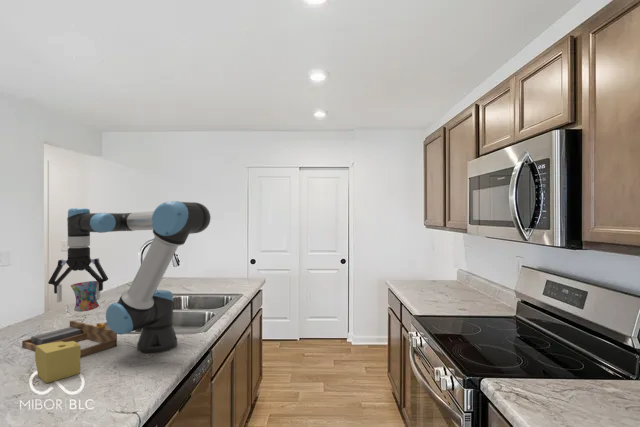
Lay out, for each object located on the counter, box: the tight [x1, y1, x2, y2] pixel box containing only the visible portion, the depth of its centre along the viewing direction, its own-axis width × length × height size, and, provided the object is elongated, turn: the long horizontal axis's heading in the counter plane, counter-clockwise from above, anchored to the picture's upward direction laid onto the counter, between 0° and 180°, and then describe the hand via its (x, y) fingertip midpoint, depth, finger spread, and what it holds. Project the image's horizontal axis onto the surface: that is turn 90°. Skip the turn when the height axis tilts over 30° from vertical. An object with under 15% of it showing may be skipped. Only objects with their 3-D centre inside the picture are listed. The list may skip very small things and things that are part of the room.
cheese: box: [34, 341, 82, 384], centre depth 124 cm, size 10×11×10 cm
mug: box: [70, 280, 100, 313], centre depth 149 cm, size 12×9×11 cm
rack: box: [21, 320, 118, 358], centre depth 151 cm, size 32×19×8 cm, turn 62°
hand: (79, 300), depth 148 cm, fingers open, 13 cm apart
